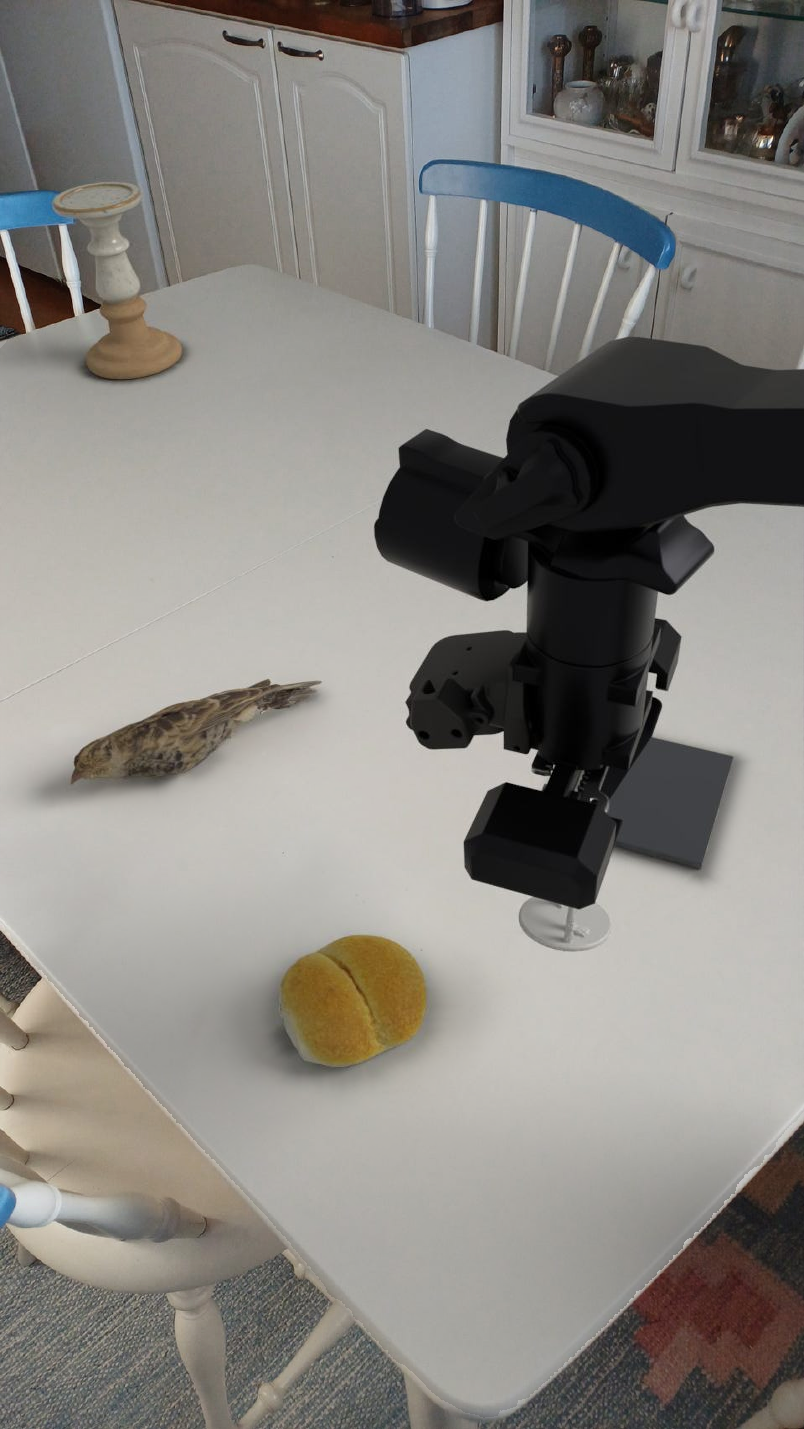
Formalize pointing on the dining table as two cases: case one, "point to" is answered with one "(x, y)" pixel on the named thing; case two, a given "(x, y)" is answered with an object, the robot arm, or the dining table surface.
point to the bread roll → (352, 1000)
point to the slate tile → (671, 801)
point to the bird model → (181, 733)
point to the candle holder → (117, 285)
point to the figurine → (565, 923)
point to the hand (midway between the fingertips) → (574, 849)
